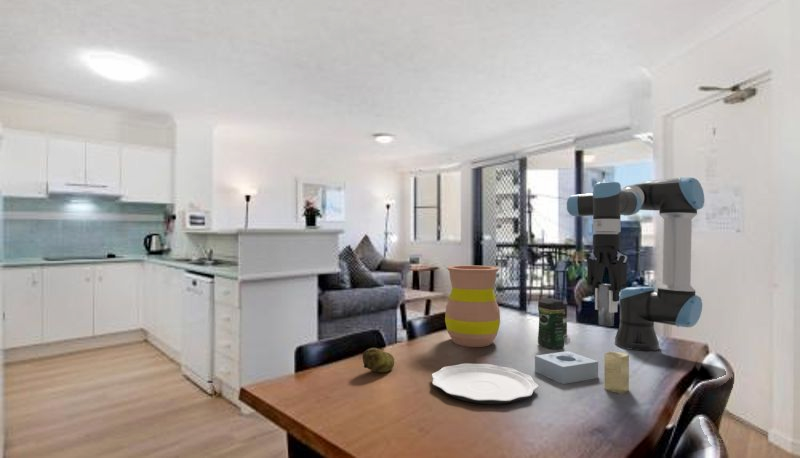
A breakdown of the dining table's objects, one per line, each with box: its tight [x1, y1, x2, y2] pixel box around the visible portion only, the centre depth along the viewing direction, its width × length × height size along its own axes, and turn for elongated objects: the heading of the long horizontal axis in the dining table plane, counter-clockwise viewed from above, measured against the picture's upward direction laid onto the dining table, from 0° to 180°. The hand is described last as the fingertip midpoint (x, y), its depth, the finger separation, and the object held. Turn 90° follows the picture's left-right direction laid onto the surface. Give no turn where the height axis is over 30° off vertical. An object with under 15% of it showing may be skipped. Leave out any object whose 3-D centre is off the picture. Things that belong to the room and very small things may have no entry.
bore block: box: [534, 350, 599, 385], centre depth 131 cm, size 14×12×5 cm
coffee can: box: [561, 300, 569, 337], centre depth 183 cm, size 10×10×14 cm
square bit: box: [604, 350, 630, 395], centre depth 119 cm, size 5×5×10 cm
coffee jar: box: [537, 297, 565, 350], centre depth 163 cm, size 10×8×19 cm
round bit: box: [597, 283, 615, 327], centre depth 127 cm, size 4×4×12 cm
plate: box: [430, 362, 539, 405], centre depth 120 cm, size 29×29×2 cm
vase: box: [444, 264, 501, 348], centre depth 169 cm, size 22×22×30 cm
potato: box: [362, 347, 395, 374], centre depth 132 cm, size 8×13×8 cm, turn 127°
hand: (606, 310), depth 127 cm, fingers closed on round bit, 4 cm apart
